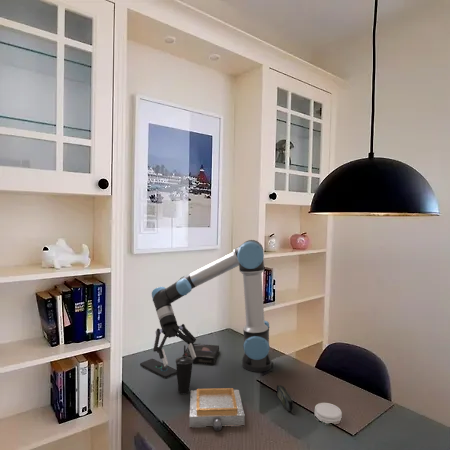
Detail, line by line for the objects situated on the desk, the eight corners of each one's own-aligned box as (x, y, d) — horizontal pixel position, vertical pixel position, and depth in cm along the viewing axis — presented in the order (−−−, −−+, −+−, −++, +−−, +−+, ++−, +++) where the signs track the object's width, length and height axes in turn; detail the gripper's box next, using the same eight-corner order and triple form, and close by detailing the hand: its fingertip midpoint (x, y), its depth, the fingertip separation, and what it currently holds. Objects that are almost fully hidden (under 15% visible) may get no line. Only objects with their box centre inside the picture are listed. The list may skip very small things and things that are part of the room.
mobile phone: (275, 384, 147) (289, 402, 132) (282, 383, 148) (296, 402, 133) (275, 395, 147) (289, 415, 132) (282, 395, 148) (296, 414, 133)
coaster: (347, 421, 130) (347, 412, 130) (328, 429, 125) (328, 419, 125) (327, 408, 139) (327, 399, 138) (309, 414, 134) (309, 406, 133)
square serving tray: (238, 399, 143) (238, 386, 143) (245, 431, 122) (245, 416, 122) (190, 399, 141) (190, 386, 141) (189, 432, 120) (189, 417, 120)
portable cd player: (219, 352, 191) (219, 345, 191) (213, 365, 174) (213, 358, 174) (190, 349, 193) (190, 342, 193) (182, 363, 176) (182, 355, 176)
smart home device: (165, 376, 158) (139, 363, 171) (165, 380, 158) (139, 366, 171) (178, 370, 165) (152, 357, 177) (178, 373, 165) (152, 361, 178)
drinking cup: (189, 397, 144) (190, 350, 143) (172, 394, 145) (173, 348, 144) (194, 387, 151) (195, 343, 150) (178, 385, 153) (179, 341, 152)
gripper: (187, 317, 170) (202, 359, 158) (139, 326, 156) (151, 372, 144) (193, 310, 165) (208, 351, 154) (143, 318, 151) (156, 364, 139)
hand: (180, 361), depth 149 cm, fingers open, 13 cm apart
